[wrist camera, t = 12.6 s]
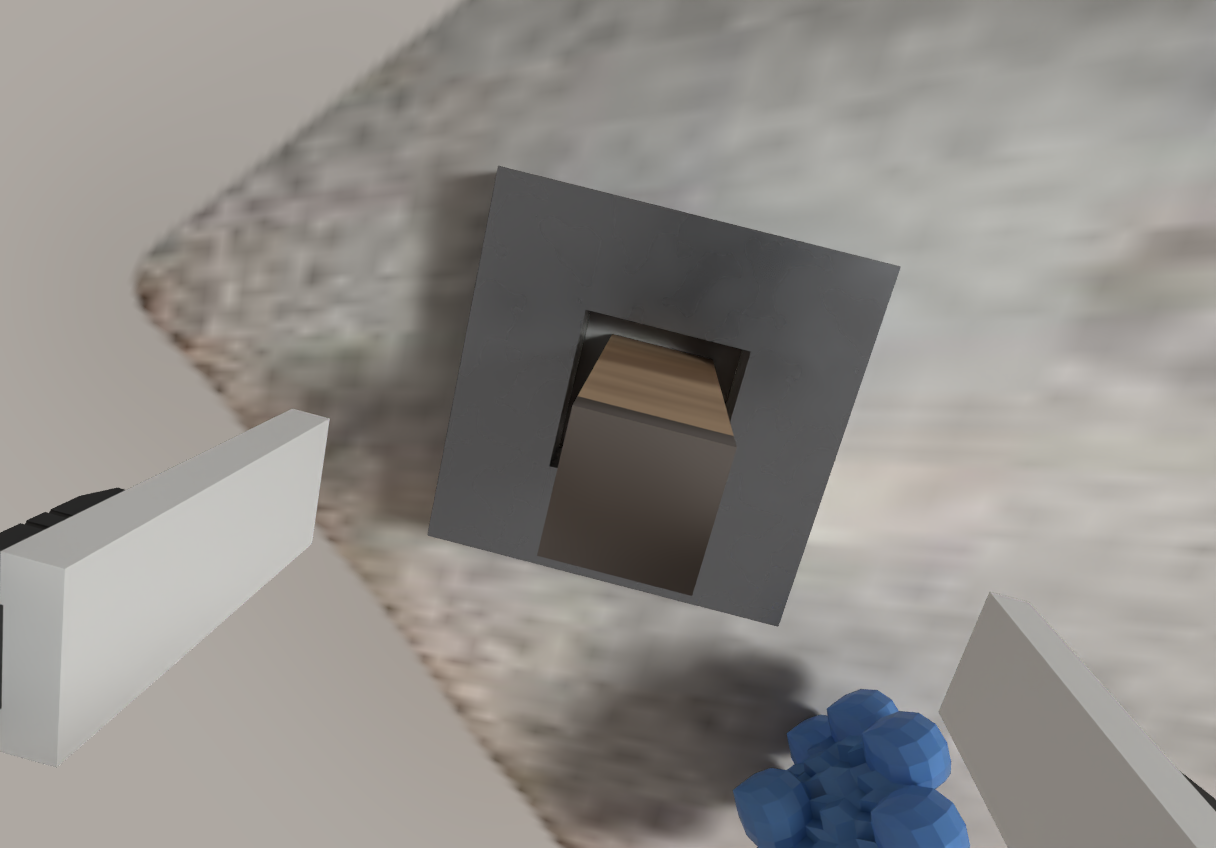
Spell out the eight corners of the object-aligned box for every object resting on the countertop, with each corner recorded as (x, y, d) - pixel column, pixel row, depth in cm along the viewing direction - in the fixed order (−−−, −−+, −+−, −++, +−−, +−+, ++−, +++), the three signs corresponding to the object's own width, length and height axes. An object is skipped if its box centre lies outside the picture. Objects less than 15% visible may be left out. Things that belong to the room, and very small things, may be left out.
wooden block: (612, 333, 30) (572, 405, 18) (712, 359, 30) (736, 447, 18) (588, 430, 31) (536, 555, 19) (685, 455, 31) (691, 596, 19)
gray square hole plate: (513, 170, 28) (498, 165, 26) (881, 262, 28) (900, 266, 26) (446, 511, 32) (427, 535, 30) (770, 596, 32) (778, 626, 29)
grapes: (786, 581, 32) (851, 788, 20) (933, 648, 32) (1080, 890, 20) (665, 790, 35) (661, 1074, 23) (799, 850, 35) (861, 1161, 23)
